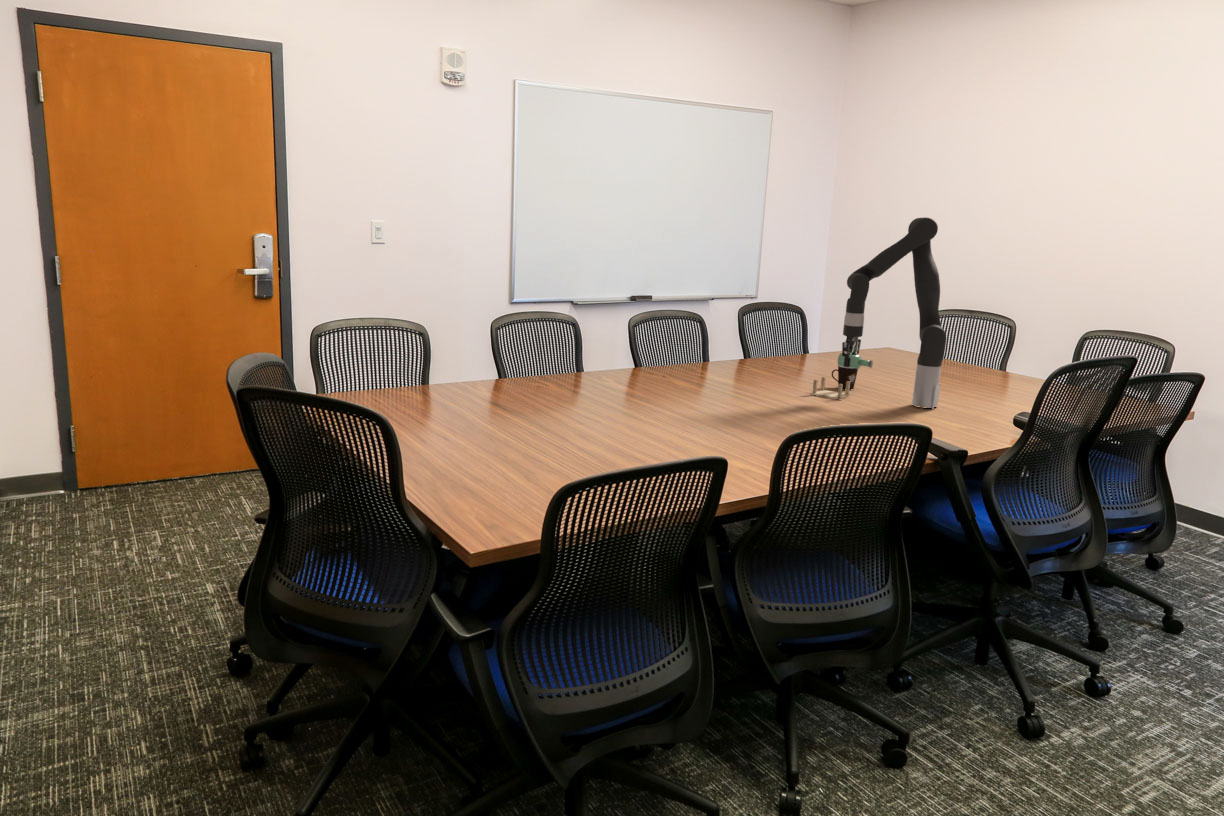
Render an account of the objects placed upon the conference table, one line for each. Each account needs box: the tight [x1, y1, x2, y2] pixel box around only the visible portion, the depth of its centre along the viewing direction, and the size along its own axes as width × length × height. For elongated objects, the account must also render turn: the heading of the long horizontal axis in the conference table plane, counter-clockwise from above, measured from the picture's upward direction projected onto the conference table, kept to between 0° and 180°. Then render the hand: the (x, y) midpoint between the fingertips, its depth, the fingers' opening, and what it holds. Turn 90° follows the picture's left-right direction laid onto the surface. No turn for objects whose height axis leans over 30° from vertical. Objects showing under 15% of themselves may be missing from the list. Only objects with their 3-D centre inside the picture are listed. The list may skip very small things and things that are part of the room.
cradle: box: [810, 376, 851, 400], centre depth 364 cm, size 13×10×6 cm
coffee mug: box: [831, 364, 859, 391], centre depth 380 cm, size 12×9×10 cm
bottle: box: [837, 352, 874, 370], centre depth 347 cm, size 13×5×5 cm, turn 54°
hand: (849, 365), depth 349 cm, fingers closed on bottle, 5 cm apart
